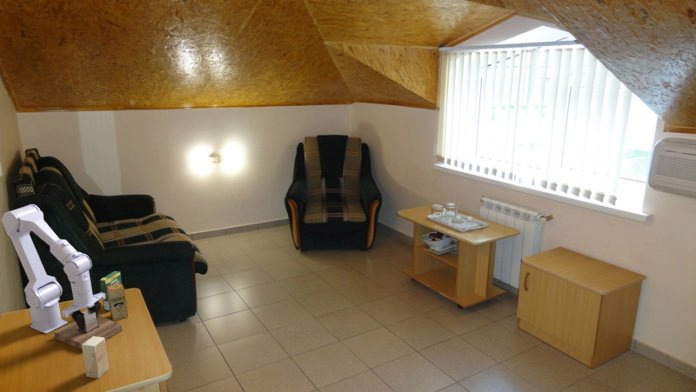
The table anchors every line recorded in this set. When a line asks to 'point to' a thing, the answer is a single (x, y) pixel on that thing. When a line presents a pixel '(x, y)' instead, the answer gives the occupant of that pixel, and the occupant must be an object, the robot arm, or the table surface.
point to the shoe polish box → (117, 301)
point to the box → (95, 357)
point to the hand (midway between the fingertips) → (87, 325)
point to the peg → (89, 321)
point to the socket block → (77, 338)
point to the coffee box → (106, 281)
